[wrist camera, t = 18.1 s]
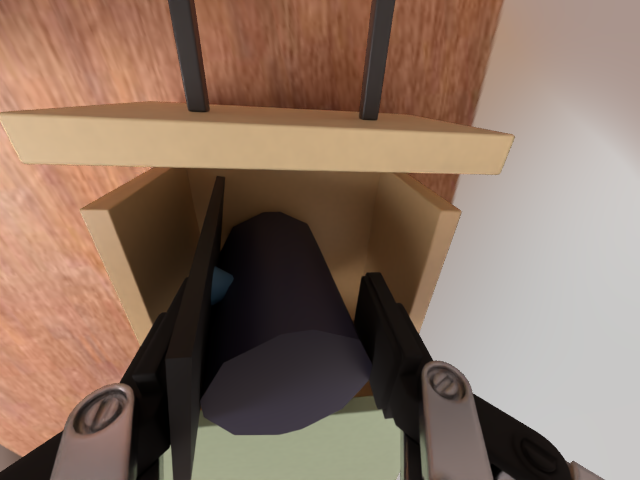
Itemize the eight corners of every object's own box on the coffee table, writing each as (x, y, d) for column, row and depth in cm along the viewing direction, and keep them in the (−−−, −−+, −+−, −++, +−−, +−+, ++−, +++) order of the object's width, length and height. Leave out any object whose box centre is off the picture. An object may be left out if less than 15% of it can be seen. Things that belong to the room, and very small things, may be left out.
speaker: (175, 258, 15) (58, 508, 6) (218, 172, 13) (141, 348, 4) (289, 298, 18) (323, 494, 9) (336, 233, 16) (432, 403, 7)
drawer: (107, -69, 10) (-282, -417, 3) (437, -29, 11) (652, -199, 5) (204, 323, 20) (162, 438, 14) (368, 315, 22) (404, 414, 15)
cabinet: (193, 290, 20) (125, 434, 11) (377, 284, 21) (433, 405, 13) (222, 408, 28) (195, 541, 20) (353, 396, 30) (379, 514, 21)
